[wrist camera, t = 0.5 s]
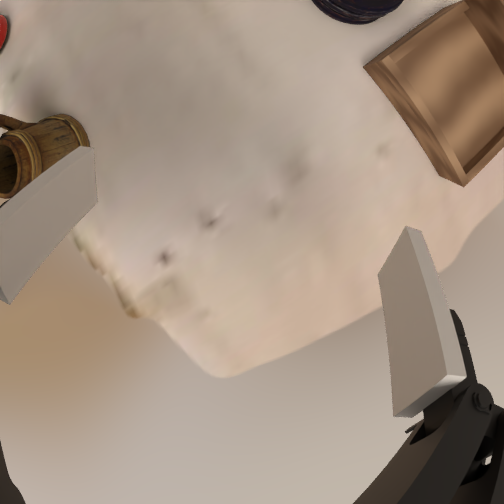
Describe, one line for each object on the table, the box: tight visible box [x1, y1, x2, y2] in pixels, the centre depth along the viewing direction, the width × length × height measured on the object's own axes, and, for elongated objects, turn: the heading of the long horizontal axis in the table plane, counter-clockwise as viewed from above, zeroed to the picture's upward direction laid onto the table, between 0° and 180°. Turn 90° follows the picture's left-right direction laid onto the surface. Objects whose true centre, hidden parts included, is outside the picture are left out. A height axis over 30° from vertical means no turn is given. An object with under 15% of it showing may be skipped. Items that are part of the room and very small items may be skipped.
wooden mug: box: [0, 114, 89, 199], centre depth 23 cm, size 9×14×18 cm, turn 25°
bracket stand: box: [363, 0, 504, 187], centre depth 23 cm, size 16×16×11 cm
